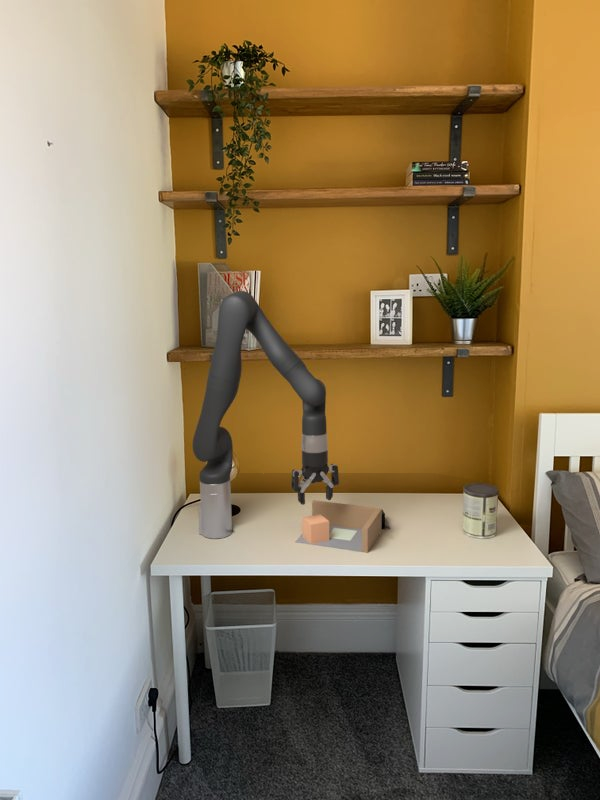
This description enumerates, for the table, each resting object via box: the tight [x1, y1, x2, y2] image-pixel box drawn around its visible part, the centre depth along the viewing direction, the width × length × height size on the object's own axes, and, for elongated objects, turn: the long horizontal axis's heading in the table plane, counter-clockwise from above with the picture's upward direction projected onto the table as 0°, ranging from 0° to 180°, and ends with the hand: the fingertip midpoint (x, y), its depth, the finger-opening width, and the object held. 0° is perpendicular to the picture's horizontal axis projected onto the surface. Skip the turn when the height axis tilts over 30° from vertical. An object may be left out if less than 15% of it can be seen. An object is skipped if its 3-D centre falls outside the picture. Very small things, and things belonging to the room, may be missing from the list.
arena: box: [294, 500, 383, 554], centre depth 186 cm, size 22×17×8 cm
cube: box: [301, 515, 329, 545], centre depth 185 cm, size 6×6×6 cm
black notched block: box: [382, 509, 391, 530], centre depth 198 cm, size 12×7×5 cm, turn 4°
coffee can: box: [461, 482, 500, 540], centre depth 189 cm, size 10×10×14 cm
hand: (315, 501), depth 183 cm, fingers open, 8 cm apart
